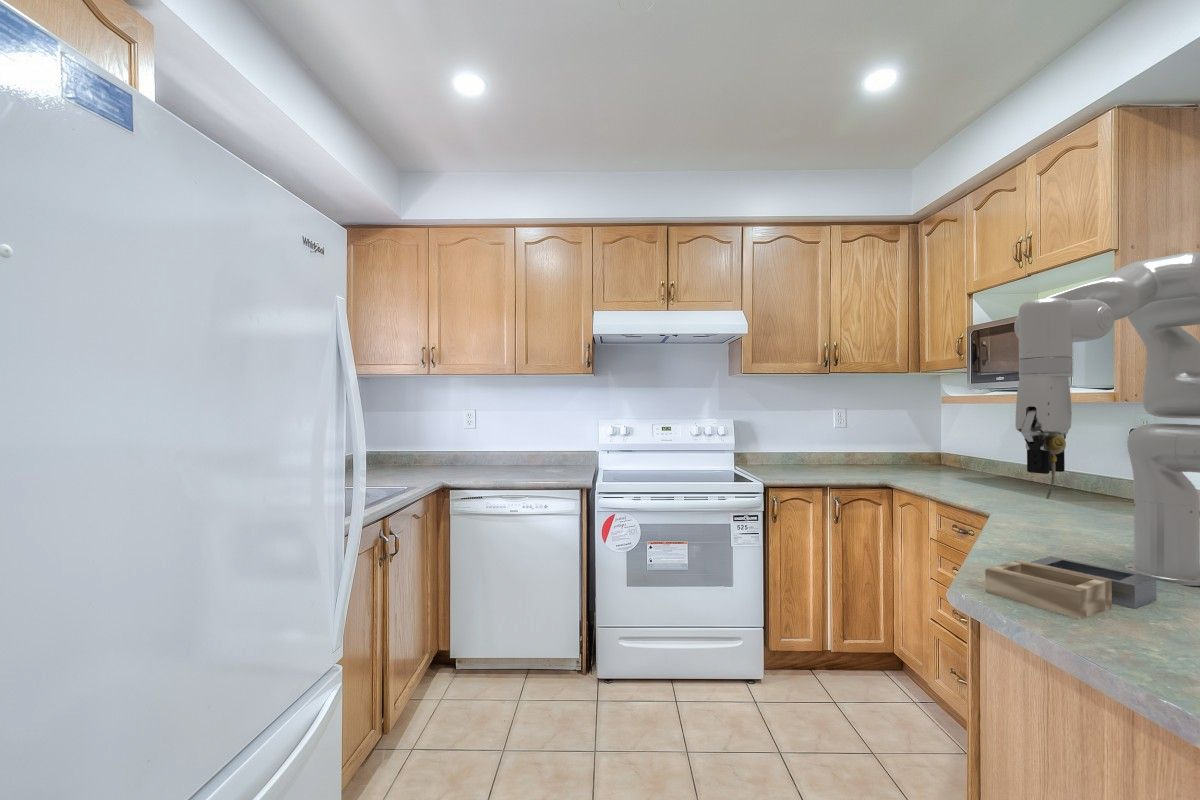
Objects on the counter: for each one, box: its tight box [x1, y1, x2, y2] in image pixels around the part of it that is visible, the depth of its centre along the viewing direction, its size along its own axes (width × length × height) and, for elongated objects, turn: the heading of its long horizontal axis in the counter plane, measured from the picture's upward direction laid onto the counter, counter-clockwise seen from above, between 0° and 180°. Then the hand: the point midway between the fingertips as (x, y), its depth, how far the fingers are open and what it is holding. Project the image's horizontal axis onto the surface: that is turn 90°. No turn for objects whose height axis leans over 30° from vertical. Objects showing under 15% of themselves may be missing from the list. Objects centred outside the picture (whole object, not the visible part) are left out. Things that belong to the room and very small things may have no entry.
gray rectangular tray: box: [1030, 555, 1157, 610], centre depth 106 cm, size 9×16×4 cm, turn 29°
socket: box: [984, 559, 1113, 620], centre depth 100 cm, size 12×14×5 cm
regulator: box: [1039, 430, 1067, 500], centre depth 100 cm, size 8×4×15 cm, turn 169°
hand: (1045, 470), depth 100 cm, fingers closed on regulator, 4 cm apart
